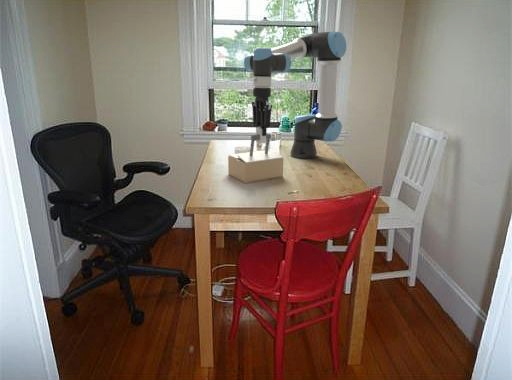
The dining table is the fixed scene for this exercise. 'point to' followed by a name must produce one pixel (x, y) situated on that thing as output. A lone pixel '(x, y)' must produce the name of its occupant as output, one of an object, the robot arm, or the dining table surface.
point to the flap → (259, 156)
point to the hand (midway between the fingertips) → (260, 142)
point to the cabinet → (254, 169)
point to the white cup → (242, 149)
